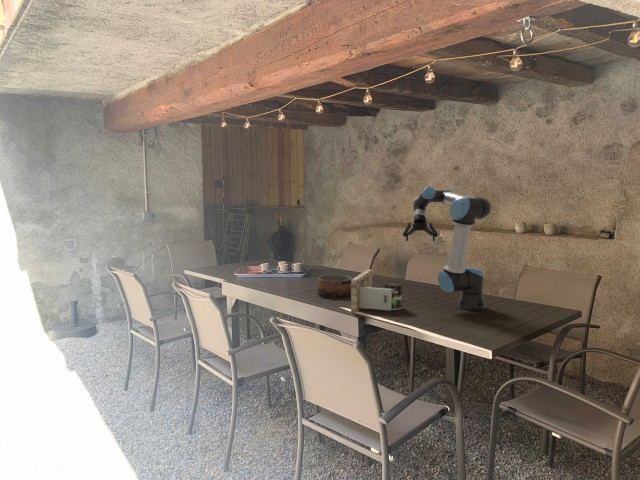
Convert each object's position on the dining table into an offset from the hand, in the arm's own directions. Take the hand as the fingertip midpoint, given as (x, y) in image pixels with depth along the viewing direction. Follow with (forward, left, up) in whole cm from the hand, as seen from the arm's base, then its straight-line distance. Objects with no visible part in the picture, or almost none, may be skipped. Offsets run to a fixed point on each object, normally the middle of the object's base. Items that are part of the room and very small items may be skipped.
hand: (420, 245), depth 272 cm
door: (+22, -23, -35) cm, 47 cm away
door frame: (+12, -32, -36) cm, 50 cm away
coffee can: (+14, -13, -36) cm, 41 cm away
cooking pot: (-13, -57, -36) cm, 69 cm away
